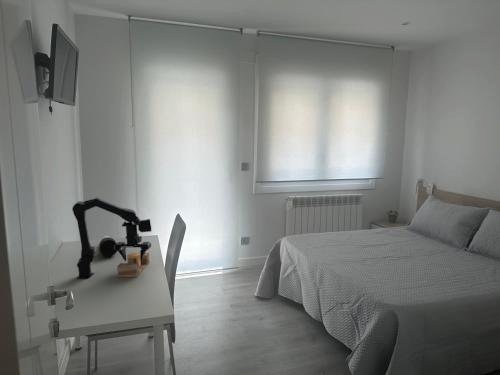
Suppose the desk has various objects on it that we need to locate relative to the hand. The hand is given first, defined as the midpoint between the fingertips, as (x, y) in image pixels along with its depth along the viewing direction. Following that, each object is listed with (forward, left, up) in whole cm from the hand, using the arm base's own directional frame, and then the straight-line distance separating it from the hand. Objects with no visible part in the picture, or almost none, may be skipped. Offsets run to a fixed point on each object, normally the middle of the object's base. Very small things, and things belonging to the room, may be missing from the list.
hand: (133, 260), depth 192 cm
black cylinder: (+33, +30, -5) cm, 45 cm away
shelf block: (0, 0, -5) cm, 5 cm away
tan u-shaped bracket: (0, 0, -3) cm, 3 cm away
